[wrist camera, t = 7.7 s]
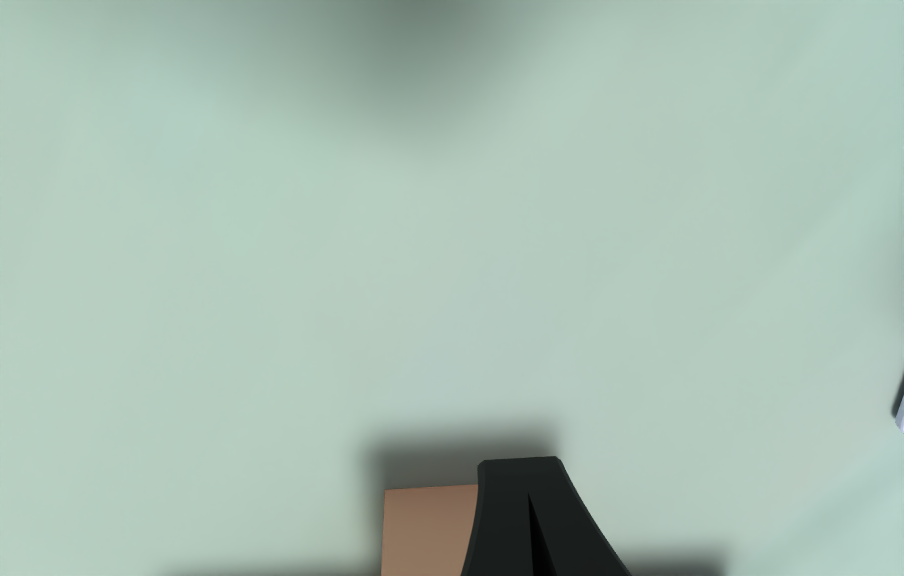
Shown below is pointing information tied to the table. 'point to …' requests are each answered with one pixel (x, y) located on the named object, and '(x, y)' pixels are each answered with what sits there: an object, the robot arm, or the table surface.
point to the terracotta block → (427, 530)
